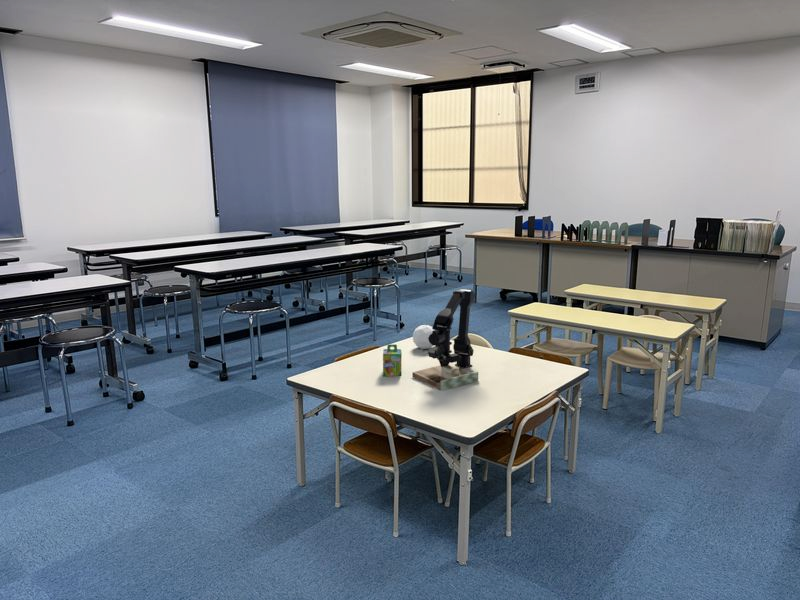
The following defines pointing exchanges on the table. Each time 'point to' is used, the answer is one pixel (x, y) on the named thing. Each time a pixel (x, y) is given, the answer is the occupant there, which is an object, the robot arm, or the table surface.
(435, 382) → the board
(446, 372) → the block
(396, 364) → the chalk box
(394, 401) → the table surface
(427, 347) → the geodesic sphere
